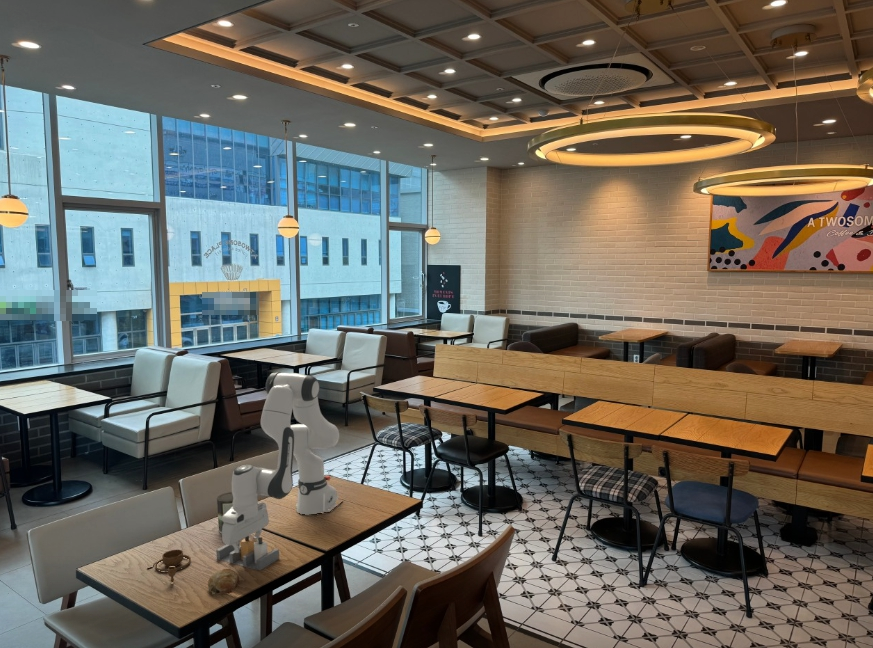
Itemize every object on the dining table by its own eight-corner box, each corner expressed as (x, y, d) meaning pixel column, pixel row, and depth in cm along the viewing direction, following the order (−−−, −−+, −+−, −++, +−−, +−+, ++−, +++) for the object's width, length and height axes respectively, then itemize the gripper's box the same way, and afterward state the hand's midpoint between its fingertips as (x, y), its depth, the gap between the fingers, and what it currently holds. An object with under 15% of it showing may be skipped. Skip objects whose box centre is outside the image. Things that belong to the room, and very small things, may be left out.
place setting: (204, 559, 228) (203, 544, 228) (175, 587, 208) (174, 570, 208) (160, 558, 230) (159, 543, 230) (128, 584, 210) (126, 568, 210)
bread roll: (206, 602, 204) (199, 586, 200) (219, 575, 213) (213, 560, 209) (234, 603, 203) (228, 587, 199) (245, 577, 211) (240, 561, 208)
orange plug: (247, 556, 227) (246, 532, 226) (254, 557, 225) (253, 534, 224) (241, 559, 224) (240, 535, 223) (248, 561, 223) (247, 537, 222)
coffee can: (213, 533, 250) (211, 499, 249) (228, 523, 260) (226, 491, 259) (234, 535, 248) (233, 501, 246) (249, 525, 258) (247, 492, 256)
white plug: (260, 559, 224) (259, 535, 223) (267, 561, 222) (266, 537, 222) (254, 562, 221) (253, 538, 220) (262, 564, 220) (261, 540, 219)
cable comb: (237, 550, 234) (236, 539, 234) (279, 561, 224) (278, 549, 224) (216, 561, 225) (216, 549, 225) (260, 573, 216) (259, 560, 215)
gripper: (259, 499, 234) (260, 534, 235) (218, 518, 216) (220, 556, 217) (271, 501, 231) (273, 537, 232) (231, 521, 213) (233, 559, 214)
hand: (247, 546), depth 224 cm, fingers open, 8 cm apart
